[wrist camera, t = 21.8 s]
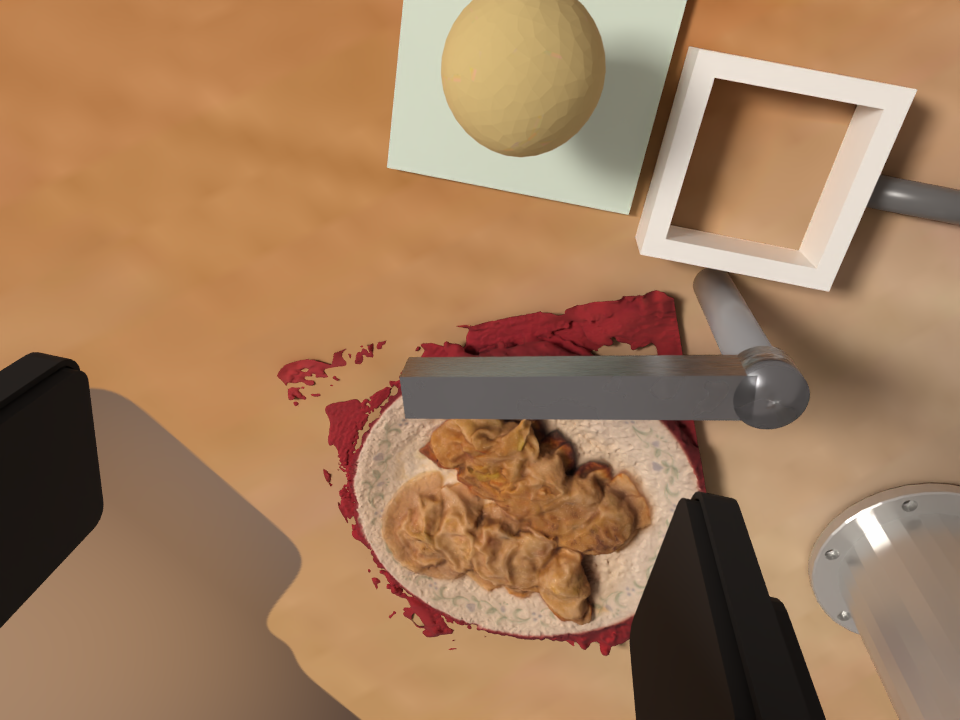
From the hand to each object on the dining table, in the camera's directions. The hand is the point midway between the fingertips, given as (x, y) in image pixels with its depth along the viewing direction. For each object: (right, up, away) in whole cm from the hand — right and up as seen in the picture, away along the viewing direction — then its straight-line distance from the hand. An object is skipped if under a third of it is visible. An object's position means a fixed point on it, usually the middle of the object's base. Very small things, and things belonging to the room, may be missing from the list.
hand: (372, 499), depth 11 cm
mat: (+4, +17, +23) cm, 29 cm away
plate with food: (+4, -7, +36) cm, 37 cm away
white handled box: (+20, +10, +24) cm, 33 cm away
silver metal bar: (+7, +1, +18) cm, 19 cm away
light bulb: (+4, +17, +22) cm, 28 cm away
